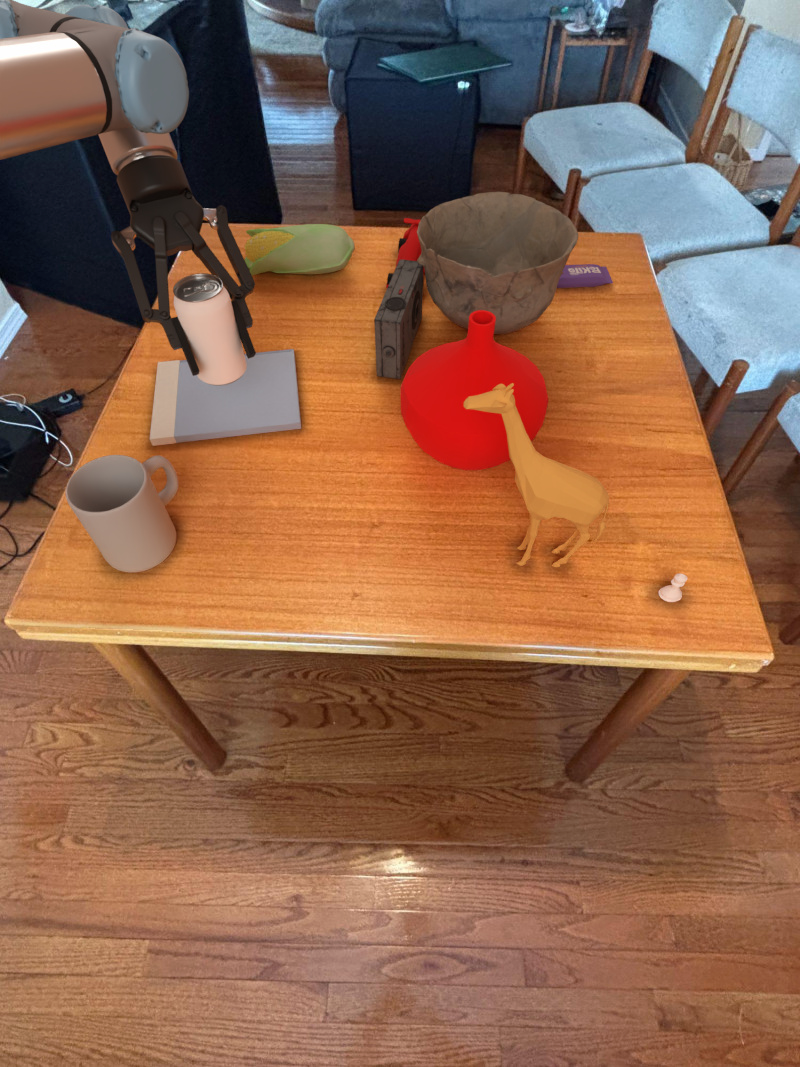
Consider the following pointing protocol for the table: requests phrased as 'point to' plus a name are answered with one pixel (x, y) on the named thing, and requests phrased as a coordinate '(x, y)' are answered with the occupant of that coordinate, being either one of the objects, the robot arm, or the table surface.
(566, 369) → the table surface
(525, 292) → the bowl
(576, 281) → the snack package
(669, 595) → the chess pawn
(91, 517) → the mug
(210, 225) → the robot arm
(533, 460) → the giraffe
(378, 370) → the camera
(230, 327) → the can
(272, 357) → the blue flat rectangular slab
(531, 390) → the vase
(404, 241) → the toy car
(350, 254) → the corn
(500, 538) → the table surface
